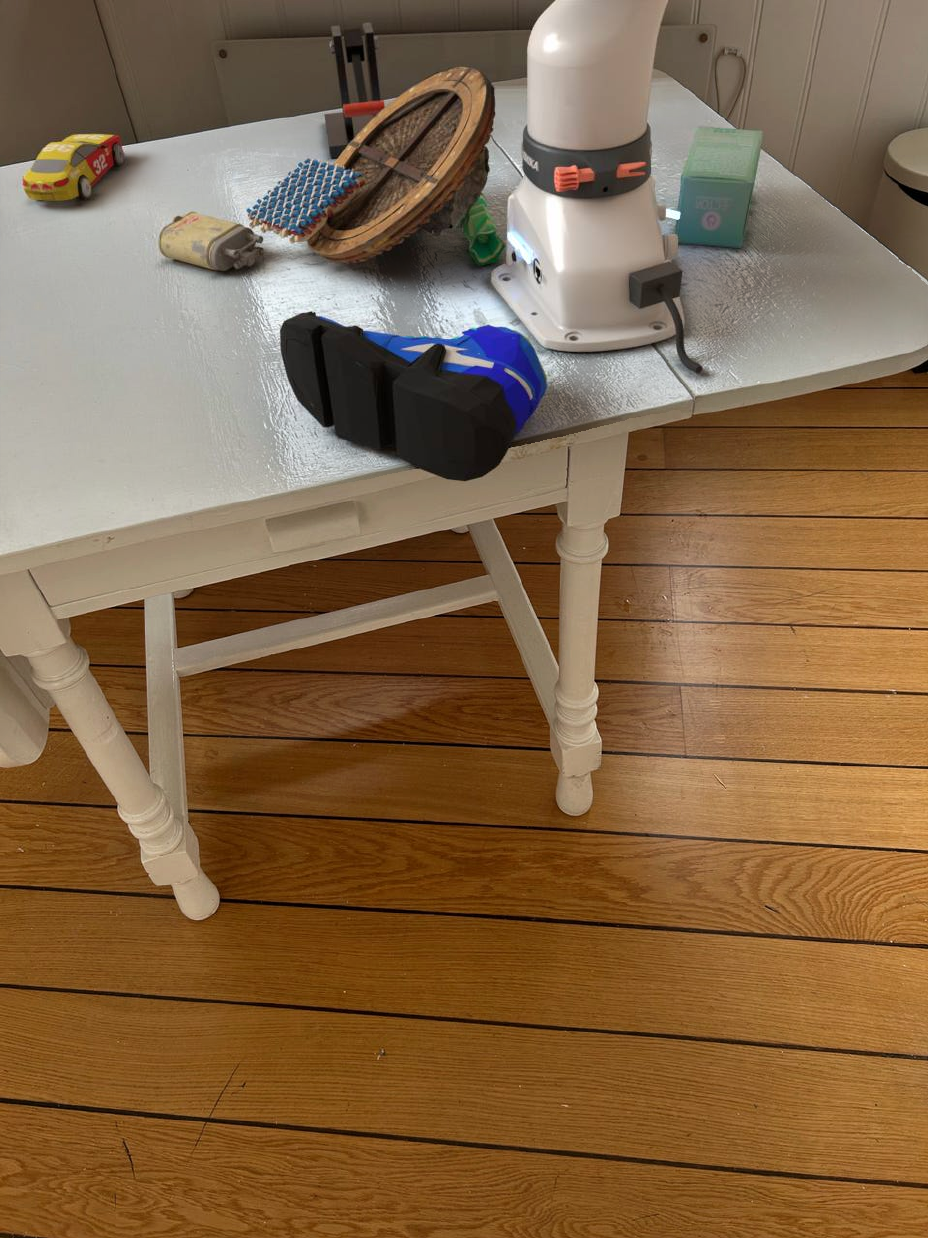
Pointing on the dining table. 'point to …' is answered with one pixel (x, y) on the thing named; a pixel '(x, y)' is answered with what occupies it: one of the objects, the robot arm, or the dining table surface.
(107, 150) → the toy car
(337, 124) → the bracket
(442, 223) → the rock
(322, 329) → the sneaker
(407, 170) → the round wicker shield
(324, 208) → the woven mat
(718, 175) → the box
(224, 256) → the lighter
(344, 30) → the lever
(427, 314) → the dining table surface
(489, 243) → the candy
